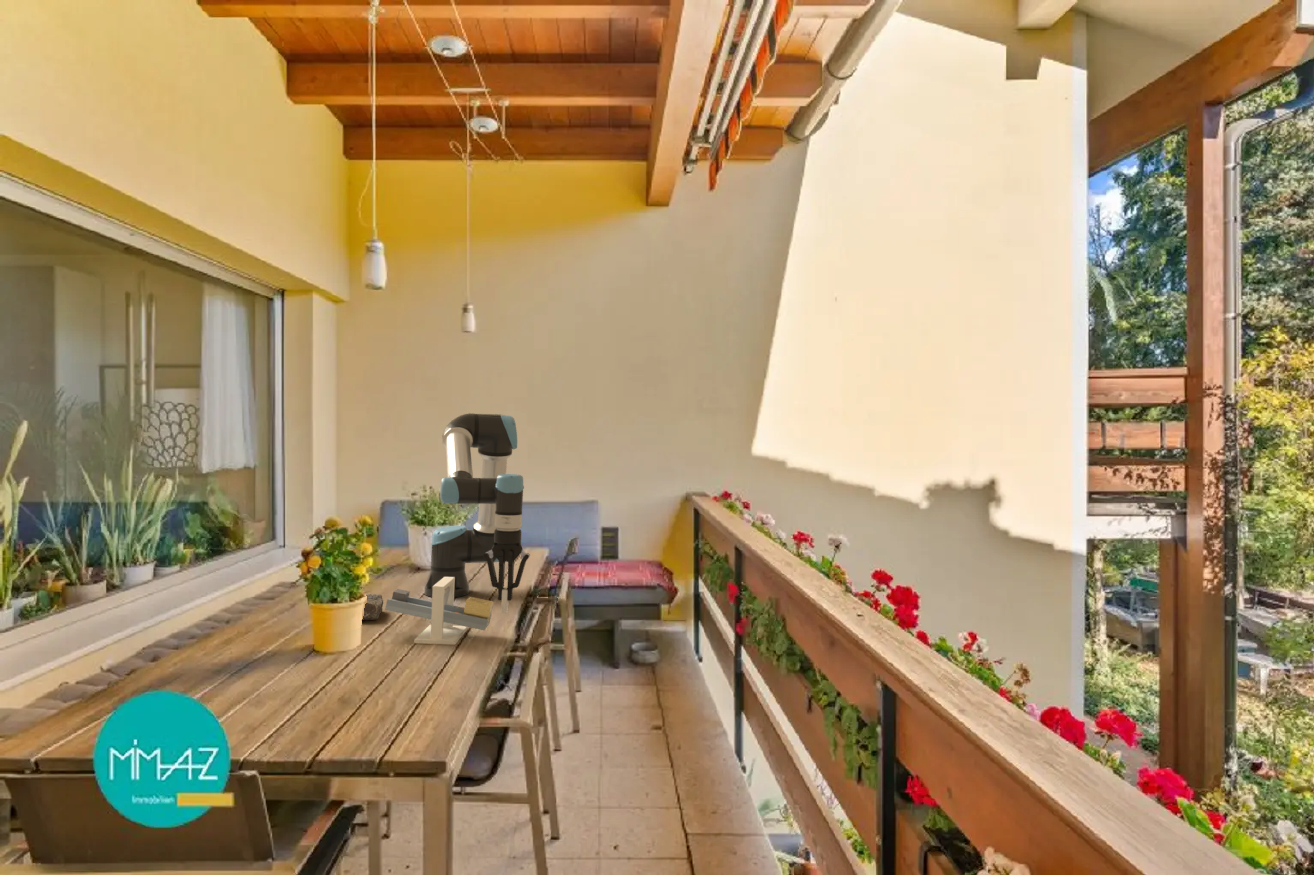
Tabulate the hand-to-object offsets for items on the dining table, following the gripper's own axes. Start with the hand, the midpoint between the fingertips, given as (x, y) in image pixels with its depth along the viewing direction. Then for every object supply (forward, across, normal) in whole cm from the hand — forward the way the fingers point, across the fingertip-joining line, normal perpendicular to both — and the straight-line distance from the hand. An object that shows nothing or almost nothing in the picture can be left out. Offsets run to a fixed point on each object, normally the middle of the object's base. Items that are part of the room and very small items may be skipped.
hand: (504, 611), depth 195 cm
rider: (+3, -8, 0) cm, 8 cm away
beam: (+2, -19, 0) cm, 19 cm away
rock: (+8, -46, +17) cm, 50 cm away
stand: (+8, -17, 0) cm, 19 cm away
